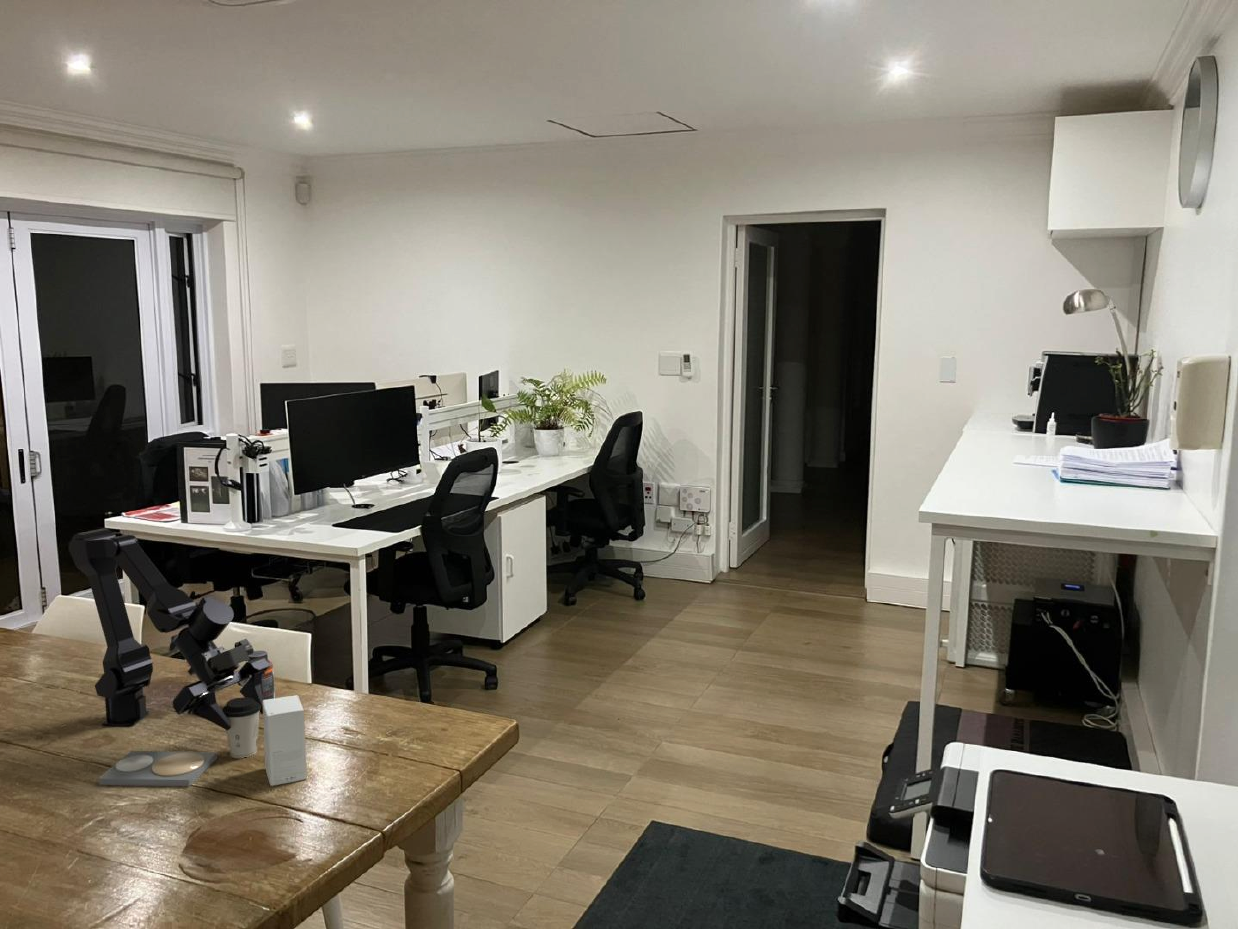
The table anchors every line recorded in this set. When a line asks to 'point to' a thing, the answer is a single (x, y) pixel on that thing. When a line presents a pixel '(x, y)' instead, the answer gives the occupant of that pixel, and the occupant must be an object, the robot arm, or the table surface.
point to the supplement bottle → (265, 676)
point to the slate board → (158, 768)
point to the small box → (284, 740)
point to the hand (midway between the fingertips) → (247, 720)
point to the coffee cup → (242, 726)
